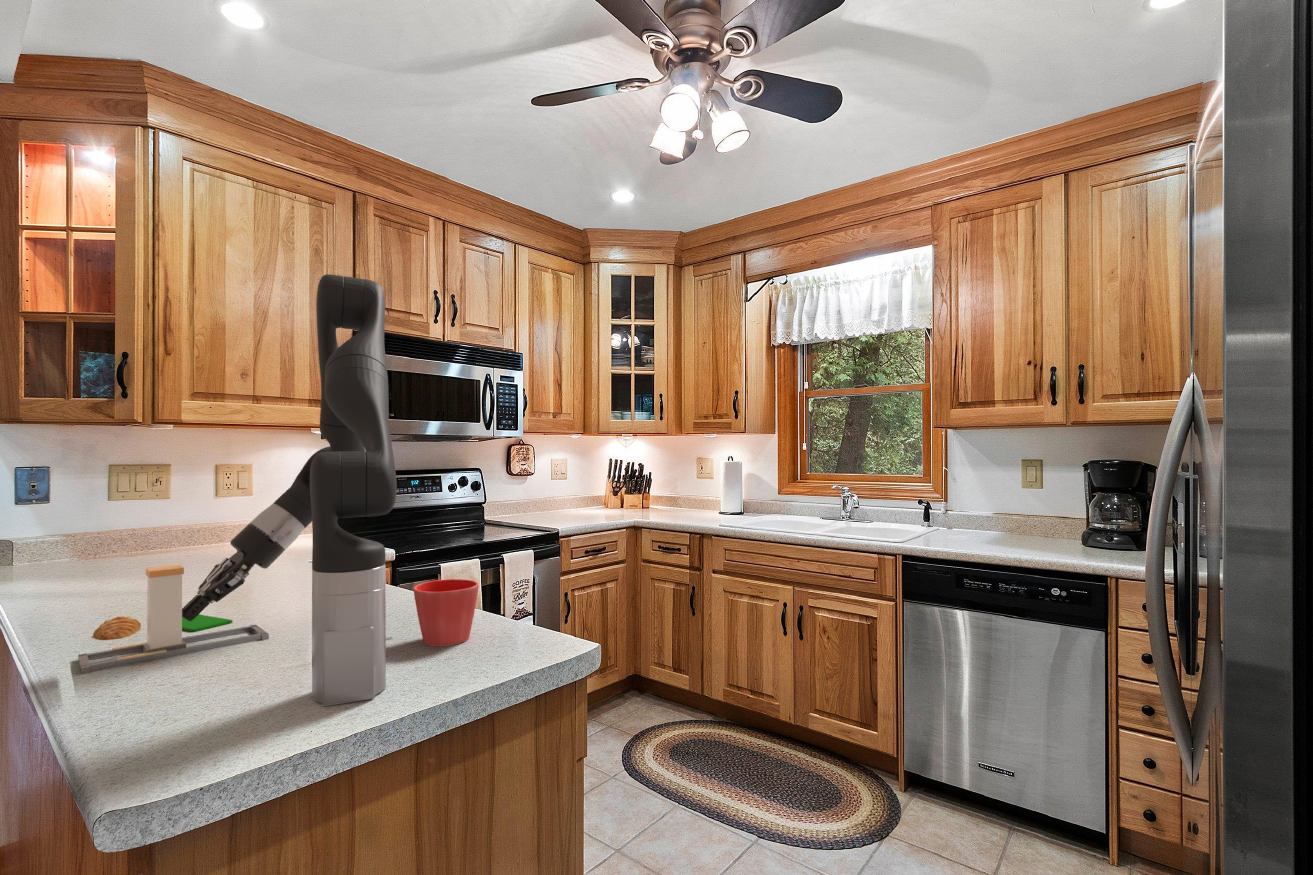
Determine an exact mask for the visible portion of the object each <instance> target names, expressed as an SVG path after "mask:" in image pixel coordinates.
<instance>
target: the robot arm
mask: <svg viewBox="0 0 1313 875" xmlns="http://www.w3.org/2000/svg"><path fill="white" fill-rule="evenodd" d="M315 307H316V313H315V314H316V329H317V330H316V331H317V332H316V333H317V335H316V337H317V349H318V350H317V352H318V362H319V373H320V390H321V391H320V395H321V396H320V410H319V411H320V412H319V432H320V435H321V436H322V437H323V438H324V439H325V440H326V441H327V442H328V444H329V446H325V447H322V448H321V449H319V450H317V451H316V452H314V453H313V454H312V455H311V456H310V457H309V458H308V459H307V461H305V463H304V464H303V467H302V468H301V470H299V472H298V474H297V476H296V477H295V478H294V481H293V482H292V483H291V486H290V487H289V488H288V489H287V490H285V491H284V492H283V493H282V494H281V495H280V496H279V497H278V498H277V499H276V500H274V502H273V503H271V504H270V505H269V506H267V507H266V508H265V509H264V510H263V511H261V512H260V513H258V515H256V517H255V518H253V519H252V520H251V521H250V522H249V523H248V524H247V525H246V526H245V527H244V528H243V529H242V530H241V531H239V532H238V534H236V536H234V537H233V538H232V539H231V540H230V545H231V547H233V548H234V549H235V550H236V552H235V553H234V554H232V555H231V556H230V557H226V558H224V559H222V561H221V562H219V563H217V564H215V565H214V566H213V568H212V569H211V571H210V572H209V573H208V575H207V576H206V578H205V579H204V580H203V582H202V583H201V584H200V585H199V586H198V588H197V589H198V590H197V592H196V595H194V596H193V598H192V599H190V601H188V602H187V603H186V604H185V605H184V606H182V617H183V618H185V619H186V620H188V621H192V620H193V619H194V618H195V617H197V616H198V615H199V614H200V615H201V613H202V612H203V611H204V610H205V609H206V608H207V607H208V606H209V605H210V604H213V603H215V602H216V603H218V602H220V601H221V600H222V599H224V598H225V597H226V596H229V594H231V593H232V592H234V591H235V590H236V589H238V588H239V587H240V586H243V585H244V583H245V581H246V580H245V579H246V578H247V577H248V576H249V575H250V573H249V572H250V571H251V569H252V568H254V566H255V565H257V566H258V567H260V568H261V569H263V570H264V569H268V568H269V567H270V566H271V565H272V564H273V563H274V562H275V561H276V560H277V559H278V558H279V557H280V556H281V555H282V554H283V553H284V552H285V551H286V550H287V549H288V548H289V547H290V546H291V545H292V544H293V543H294V542H295V541H296V540H297V539H298V538H299V536H300V535H302V534H301V533H303V531H304V530H305V529H306V528H307V527H308V526H309V525H310V524H312V525H311V527H312V529H311V530H312V554H311V556H312V558H311V698H312V700H314V701H315V702H317V703H321V704H322V706H323V707H326V706H327V707H328V706H333V705H340V704H345V703H346V704H347V703H352V702H360V701H365V700H372V699H375V696H376V695H378V694H380V693H381V692H382V691H384V690H385V689H386V687H387V686H386V684H387V683H386V680H387V678H386V677H387V672H386V671H387V668H386V667H387V666H386V665H387V664H386V663H387V660H386V659H387V657H386V654H387V652H386V651H387V650H386V648H387V647H386V645H387V644H386V643H387V642H386V640H387V639H386V633H387V632H386V628H387V627H386V626H387V625H386V621H387V620H386V618H387V617H386V614H387V613H386V611H387V610H386V609H387V608H386V605H387V604H386V584H387V583H386V581H387V580H386V575H387V574H386V567H387V566H386V549H385V546H384V544H382V543H380V542H378V541H375V540H371V539H367V538H363V537H359V536H357V535H354V534H352V533H350V532H348V531H346V530H345V529H343V528H342V527H341V526H339V523H338V520H339V519H342V518H343V519H345V518H365V517H366V518H367V517H380V516H383V515H387V514H389V513H390V512H391V511H392V510H393V509H394V506H395V505H396V500H397V490H398V485H397V484H398V482H397V473H396V464H395V459H394V457H395V456H394V451H393V444H392V437H391V436H392V435H391V431H390V430H391V429H390V418H389V417H390V416H389V411H390V410H389V409H390V408H389V407H390V406H389V376H388V375H389V374H388V367H387V359H386V351H385V350H386V349H385V347H386V346H385V330H386V329H385V328H386V324H385V322H386V297H385V293H384V289H383V287H382V286H381V285H380V284H379V283H378V282H376V281H373V280H371V279H365V278H360V277H359V278H358V277H353V276H343V275H338V274H329V273H328V274H324V275H322V276H321V277H320V279H319V282H318V284H317V291H316V306H315ZM337 329H345V330H355V331H358V332H357V333H355V334H354V335H353V336H351V337H350V338H348V339H347V340H346V341H345V342H343V343H342V344H340V345H339V344H338V340H337Z"/></svg>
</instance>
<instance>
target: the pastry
mask: <svg viewBox="0 0 1313 875" xmlns="http://www.w3.org/2000/svg"><path fill="white" fill-rule="evenodd" d="M141 626H142V624H141V622H140V621H139V620H137V619H135V618H132V617H129V616H122V615H121V616H116V617H113V618H111V619H107V620H105V621H104V622H103V623H102V624H100V625H99V626H98V627H97V628H96V629H95V630H94V632H93V634H92V638H94V639H95V638H96V639H98V640H100V641H111V640H119V639H124V638H129V637H130V636H132V635H135V634H136V633H138V632H139V631H141V630H142V627H141Z"/></svg>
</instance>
